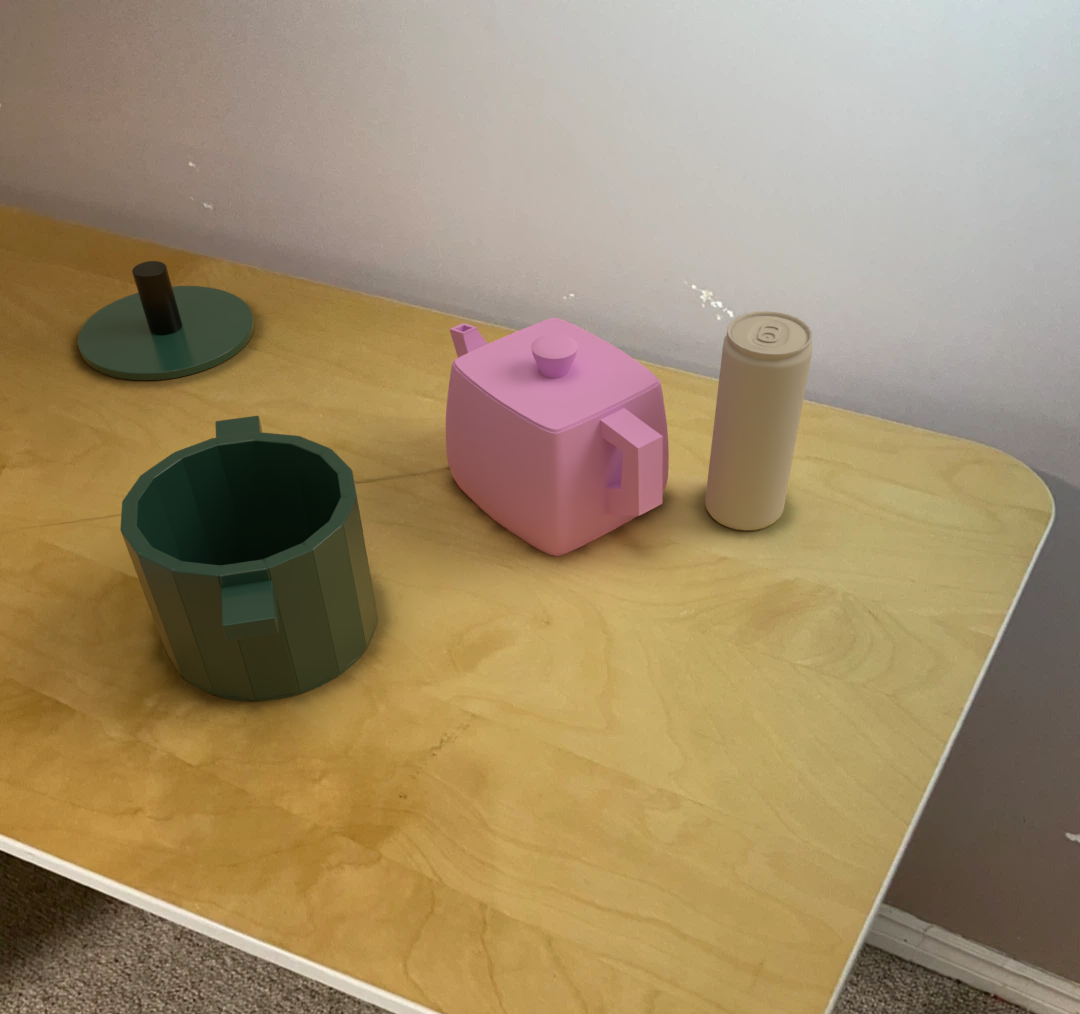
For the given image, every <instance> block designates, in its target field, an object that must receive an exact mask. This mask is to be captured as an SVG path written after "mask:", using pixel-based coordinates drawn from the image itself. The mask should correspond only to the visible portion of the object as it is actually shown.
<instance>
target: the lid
mask: <svg viewBox="0 0 1080 1014" xmlns="http://www.w3.org/2000/svg"><path fill="white" fill-rule="evenodd" d="M131 274H132V276H133V280H134V284H135V287H136V289H137V292H136V293H132V294H130V295H127V296H124V297H122V298H119V299H117V300H114V301H113V302H111V303H109V304H106V305H105V306H103V307H102V308H100V309H99V310H97V311H96V312H94V313H93V314H92V315H91V316H90V317H89V318H88V319H87V320H86V321H85V322H84V324H83V325H82V326H81V328H80V330H79V332H78V336H77V347H78V349H79V353H80V355H81V357H82V359H83V360H84V362H85V363H86V364H87V365H88V366H89V367H91V368H92V369H94V370H95V371H97V372H99V373H101V374H104V375H105V376H110V377H113V378H117V379H122V380H128V381H129V380H130V381H143V382H144V381H146V382H147V381H163V380H171V379H177V378H183V377H187V376H190V375H194V374H197V373H200V372H204V371H207V370H209V369H211V368H214V367H216V366H218V365H221V364H222V363H225V362H226V361H227V360H229V359H232V357H234V356H235V355H236V354H238V353H239V352H240V351H242V349H244V348H245V346H246V345H247V344H248V343H249V342H250V340H251V338H252V336H253V334H254V330H255V320H254V315H253V312H252V310H251V308H250V306H249V305H248V304H247V303H246V301H245V300H243V299H242V298H240V297H239V296H237V295H236V294H234V293H231V292H229V291H226V290H223V289H219V288H215V287H209V286H201V285H174V286H173V285H172V283H171V278H170V275H169V271H168V267H167V265H166V264H165V263H164V262H162V261H158V260H149V261H144V262H141V263H138V264H136V265H135V266H134V267H133V268H132V270H131Z"/></svg>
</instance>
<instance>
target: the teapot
mask: <svg viewBox="0 0 1080 1014" xmlns="http://www.w3.org/2000/svg"><path fill="white" fill-rule="evenodd" d="M449 333H450V336H451V340H452V343H453V346H454V350H455V353H456V356H457V358H455V359H454V360H453V361H452V363H451V368H450V374H449V382H448V389H447V397H446V407H445V408H446V410H445V450H446V460H447V464H448V467H449V470H450V472H451V473H450V474H451V475H452V477H453V480H454V482H455V483H456V484H457V486H458V487H459V488H460V490H462V491H463V493H464V494H465V495H466V496H467V497H468V498H469V499H470V500H472V501H473V502H474V503H475V504H476V505H477V506H478V507H479V508H480V509H481V510H482V511H483V512H484V513H486V515H488V516H489V517H490V518H491V519H492V520H494V521H495V522H496V523H498V524H499V525H500V526H502V528H505V529H506V530H507V531H509V532H511V533H512V534H513V535H515V536H517V538H520V539H521V540H523V541H524V542H526V543H527V544H529V545H531V546H532V547H533V548H535V549H537V550H539V551H541V552H543V553H545V554H547V555H549V556H553V557H560V556H564V555H566V554H569V553H571V552H573V551H576V550H578V549H579V548H581V547H583V546H585V545H587V544H589V543H591V542H593V541H594V540H597V539H599V538H601V537H603V536H605V535H606V534H609V533H610V532H612V531H614V530H616V529H618V528H620V527H621V526H623V525H625V524H627V523H629V522H630V521H632V520H634V519H635V518H638V517H640V516H642V515H644V514H646V513H648V512H649V511H651V510H653V509H655V508H657V507H659V506H661V505H663V495H664V493H665V489H666V487H667V484H668V479H669V468H670V466H669V465H670V464H669V463H670V462H669V461H670V458H669V457H670V451H669V449H670V448H669V447H670V446H669V431H668V423H667V414H666V407H665V401H664V394H663V388H662V387H663V386H662V383H661V380H660V379H659V377H657V375H655V374H654V373H653V372H652V371H651V370H650V369H649V368H647V367H646V366H645V365H643V364H642V363H641V362H639V361H638V360H636V359H635V358H633V357H632V356H630V355H629V354H627V353H626V352H625V351H623V350H621V349H620V348H618V347H617V346H615V345H613V344H612V343H609V342H608V341H607V340H604V339H603V338H601V337H599V336H597V335H595V334H594V333H592V332H590V331H588V330H586V329H584V328H582V327H580V326H579V325H576V324H574V323H571V322H569V321H567V320H564V319H562V318H558V317H551V318H548V319H545V320H542V321H540V322H537V323H535V324H531V325H529V326H527V327H524V328H522V329H519V330H517V331H515V332H512V333H510V334H507V335H505V336H503V337H500V338H498V339H496V340H493V341H492V342H487V340H486V339H485V338H484V336H483V335H482V334H481V333H480V331H479V327H478V326H475V325H472V324H469V323H465V322H462V323H460V324H458V325H454V326H453V327H451V328H449Z"/></svg>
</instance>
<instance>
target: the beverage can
mask: <svg viewBox="0 0 1080 1014" xmlns="http://www.w3.org/2000/svg"><path fill="white" fill-rule="evenodd" d="M812 340H813V332H812V329H811V327H810V326H809V325H808V324H807V323H806V322H805V321H803V320H802V319H801V318H799V317H796V316H794V315H791V314H788V313H784V312H780V311H770V310H763V311H752V312H747V313H744V314H741V315H739V316H737V317H736V318H734V319H733V320H731V321H730V323H729V324H728V326H727V329H726V335H725V336H724V338H723V343H722V350H721V357H720V358H721V360H720V367H719V368H720V369H719V375H718V385H717V394H716V402H715V410H714V411H715V412H714V421H713V430H712V438H711V445H710V455H709V465H708V473H707V481H706V490H705V499H704V505H705V508H706V511H707V512H708V514H709V515H710V516H711V518H712V519H713V520H715V522H717V523H718V524H720V525H722V526H724V527H726V528H729V529H732V530H736V531H747V532H748V531H758V530H762V529H766V528H767V527H769V526H772V525H773V524H774V523H775V522H777V521H778V520H779V519H780V518H781V517H782V515H783V512H784V510H785V503H786V498H787V493H788V487H789V483H790V482H789V481H790V475H791V470H792V464H793V459H794V453H795V448H796V442H797V438H798V437H797V436H798V432H799V426H800V422H801V421H800V420H801V415H802V410H803V404H804V400H805V395H806V394H805V393H806V388H807V383H808V379H809V378H808V377H809V373H810V366H811V360H812V355H813V343H812Z"/></svg>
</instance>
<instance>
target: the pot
mask: <svg viewBox="0 0 1080 1014" xmlns="http://www.w3.org/2000/svg"><path fill="white" fill-rule="evenodd" d="M214 425H215V437H212V438H209V439H206V440H203V441H201V442H198V443H195V444H193V445H190V446H187V447H184V448H182V449H179V450H176V451H173V452H172V453H170V454H169V455H167V456H166V457H164V458H163V459H162V460H160V461H159V462H158V463H156V464H154V466H152V467H150V468H148V470H146V471H145V472H143V473H142V474H140V475H139V477H138V478H137V480H135V482H134V484H133V485H132V487H131V488H130V490H129V491H128V493H126V495H125V496H124V498H123V499H122V502H121V512H120V513H121V514H120V527H119V528H120V529H119V530H120V533H121V536H122V538H123V541H124V543H125V546H126V548H127V552H128V554H129V558H130V559H131V562H132V564H133V568H134V571H135V572H136V575H137V578H138V581H139V583H140V586H141V589H142V591H143V595H144V597H145V599H146V602H147V604H148V607H149V610H150V613H151V615H152V618H153V620H154V624H155V626H156V629H157V631H158V634H159V636H160V639H161V642H162V644H163V648H164V650H165V652H166V654H167V656H168V657H169V659H170V661H171V662H172V664H173V666H174V668H175V669H176V671H177V672H178V674H180V675H181V677H182V678H184V680H186V681H187V682H188V684H191V685H192V686H194V687H195V688H197V689H198V690H201V691H203V692H205V693H207V694H209V695H212V696H216V697H218V698H223V699H228V700H234V701H242V702H266V701H275V700H282V699H287V698H292V697H295V696H299V695H302V694H304V693H308V692H310V691H313V690H315V689H318V688H321V687H323V686H324V685H326V684H328V683H330V682H331V681H333V680H335V679H337V678H339V676H341V675H342V674H344V673H345V672H346V671H348V670H349V668H351V667H352V666H353V665H354V664H356V662H357V661H359V659H360V658H361V657H362V656H363V655H364V653H365V652H366V650H367V649H368V648H369V647H370V644H371V642H372V639H373V638H374V635H375V632H376V628H377V622H378V618H379V617H378V611H377V605H376V599H375V594H374V593H375V592H374V588H373V582H372V577H371V576H372V575H371V570H370V564H369V558H368V551H367V548H366V547H367V546H366V541H365V535H364V530H363V524H362V518H361V517H362V516H361V512H360V507H359V500H358V494H357V489H356V483H355V477H354V472H353V470H352V468H351V467H350V466H349V465H348V464H347V463H346V462H345V461H344V460H343V459H342V457H340V455H338V454H337V453H336V452H335V451H334V450H333V449H332V448H331V447H328V446H326V445H323V444H321V443H318V442H316V441H313V440H311V439H307V438H305V437H302V436H300V435H293V434H283V433H274V432H263V427H262V424H261V419H260V416H259V415H252V416H245V417H237V418H230V419H221V420H216V421H215V424H214Z"/></svg>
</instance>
